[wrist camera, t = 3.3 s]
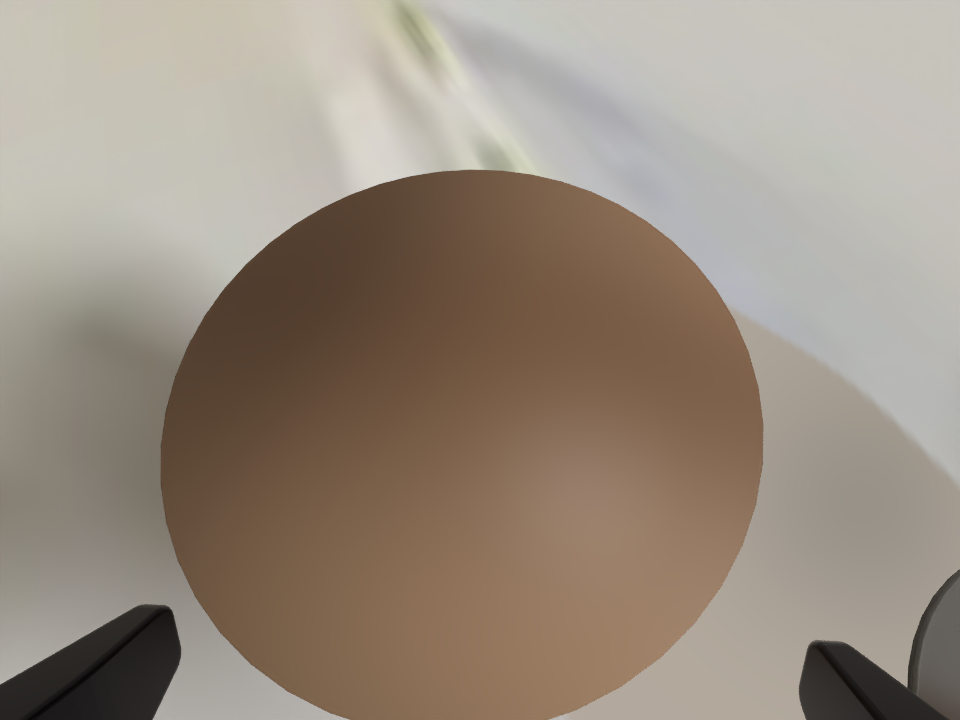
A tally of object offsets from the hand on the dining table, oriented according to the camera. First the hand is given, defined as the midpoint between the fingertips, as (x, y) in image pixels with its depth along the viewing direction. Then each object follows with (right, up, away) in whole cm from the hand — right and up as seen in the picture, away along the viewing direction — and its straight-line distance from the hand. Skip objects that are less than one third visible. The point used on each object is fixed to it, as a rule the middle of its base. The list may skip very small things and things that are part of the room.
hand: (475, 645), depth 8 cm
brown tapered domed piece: (+1, -3, +9) cm, 10 cm away
